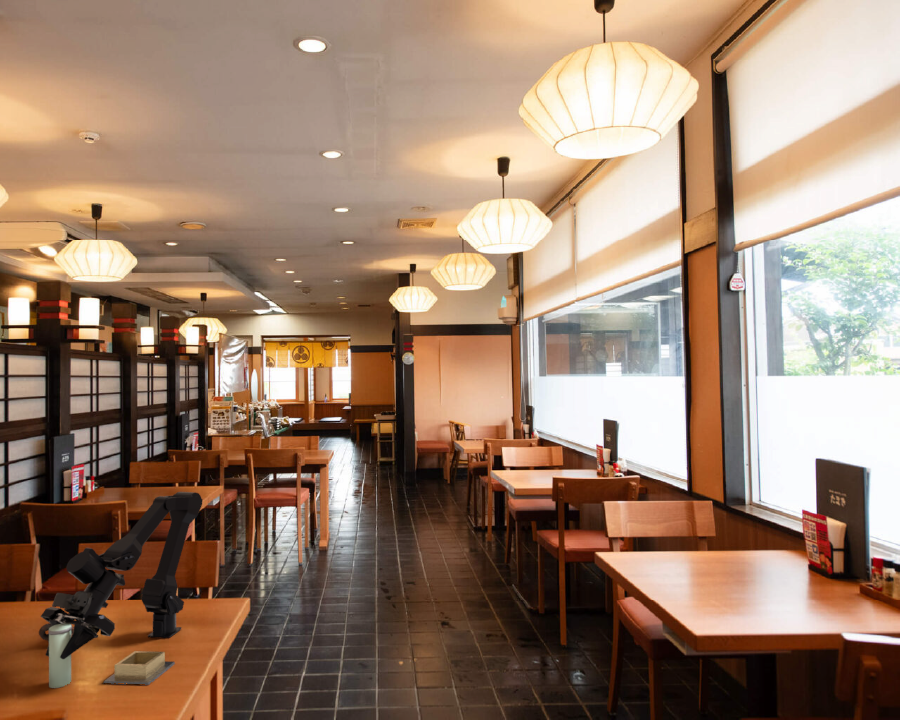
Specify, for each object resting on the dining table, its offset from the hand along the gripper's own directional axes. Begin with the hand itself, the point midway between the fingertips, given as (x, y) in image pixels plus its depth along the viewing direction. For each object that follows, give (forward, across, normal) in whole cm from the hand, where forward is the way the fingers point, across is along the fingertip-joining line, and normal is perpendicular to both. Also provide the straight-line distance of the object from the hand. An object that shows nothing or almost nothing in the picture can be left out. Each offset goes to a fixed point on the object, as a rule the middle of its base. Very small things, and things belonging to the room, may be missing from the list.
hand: (54, 657), depth 146 cm
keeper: (-3, +14, +13) cm, 19 cm away
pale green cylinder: (+4, 0, +6) cm, 7 cm away
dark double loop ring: (-9, -22, +19) cm, 30 cm away
